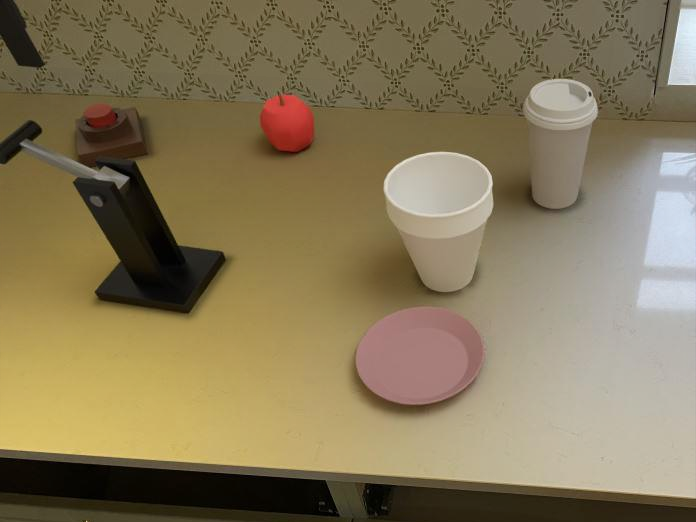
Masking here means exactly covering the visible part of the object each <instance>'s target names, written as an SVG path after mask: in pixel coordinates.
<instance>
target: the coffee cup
mask: <svg viewBox="0 0 696 522" xmlns="http://www.w3.org/2000/svg"><path fill="white" fill-rule="evenodd" d="M522 112H523V115H524V117H525V118H526V122H527V137H528V149H529V151H528V152H529V164H530V165H529V166H530V180H531V181H530V182H531V196H532V199H533V201H534V202H535V203H536V204H537V205H539V206H541V207H543V208H547V209H553V210H560V209H565V208H568V207H571V206H572V205H574V204H575V203H576V202H577V199H578V196H579V192H580V191H579V190H580V186H581V180H582V176H583V171H584V165H585V162H586V161H585V160H586V156H587V150H588V146H589V142H590V137H591V136H590V135H591V131H592V126H593V123H594V121H595V120H596V118H597V117H598V115H599V108H598V104H597V100H596V98H595V96H594V93H593V90H592V89H591V88H590V87H589V86H588V85H586V84H584V83H583V82H580V81H577V80H574V79H569V78H552V79H547V80H543V81H541V82H539V83H537V84H535V85H534V86H533V87H532V88H531V89H530V92H529V94H528V95H527V97H526V99H525V100H524V103H523V108H522Z"/></svg>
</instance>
